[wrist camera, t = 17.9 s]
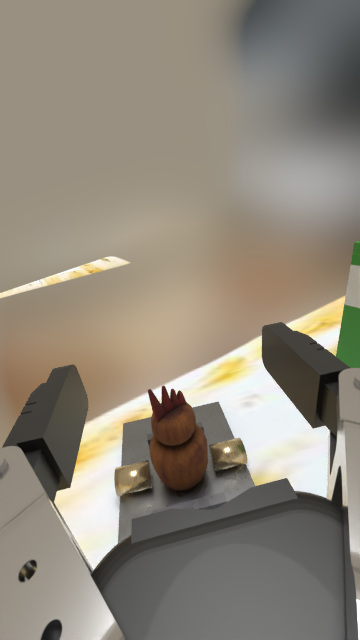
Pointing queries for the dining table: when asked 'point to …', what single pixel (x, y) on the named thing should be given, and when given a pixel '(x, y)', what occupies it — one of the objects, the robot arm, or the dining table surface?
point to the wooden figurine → (177, 442)
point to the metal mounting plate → (154, 496)
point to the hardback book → (351, 316)
